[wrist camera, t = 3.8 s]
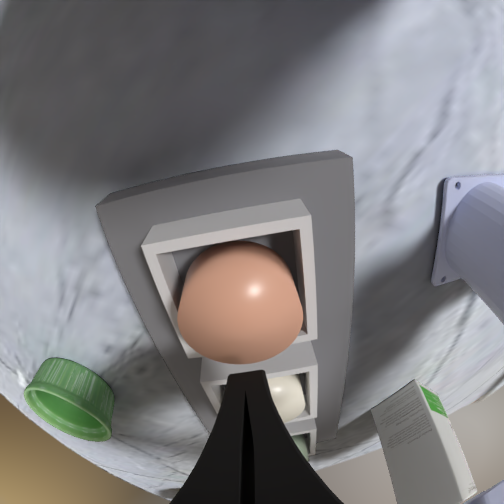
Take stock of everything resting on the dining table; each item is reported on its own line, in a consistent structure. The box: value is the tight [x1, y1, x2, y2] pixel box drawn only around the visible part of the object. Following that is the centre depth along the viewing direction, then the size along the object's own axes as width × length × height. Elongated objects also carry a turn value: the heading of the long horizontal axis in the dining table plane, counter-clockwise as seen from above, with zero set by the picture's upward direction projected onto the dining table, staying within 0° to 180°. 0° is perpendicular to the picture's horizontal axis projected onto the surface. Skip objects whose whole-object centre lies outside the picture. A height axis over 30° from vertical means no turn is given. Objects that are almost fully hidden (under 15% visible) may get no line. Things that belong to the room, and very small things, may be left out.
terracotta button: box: [177, 241, 303, 364], centre depth 12 cm, size 5×5×2 cm
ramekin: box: [24, 358, 114, 442], centre depth 20 cm, size 9×9×4 cm
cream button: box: [267, 374, 305, 423], centre depth 18 cm, size 5×5×2 cm
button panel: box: [95, 150, 355, 456], centre depth 19 cm, size 12×28×4 cm, turn 9°
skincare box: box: [371, 379, 477, 504], centre depth 20 cm, size 8×7×16 cm
